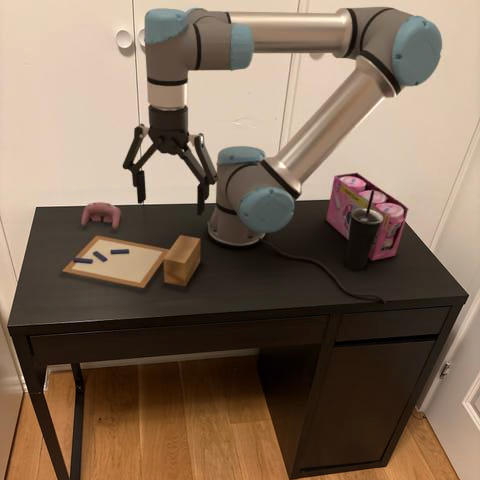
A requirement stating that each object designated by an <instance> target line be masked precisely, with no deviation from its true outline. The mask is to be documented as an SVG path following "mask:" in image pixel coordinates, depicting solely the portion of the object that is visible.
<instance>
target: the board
mask: <svg viewBox="0 0 480 480" xmlns="http://www.w3.org/2000/svg"><path fill="white" fill-rule="evenodd" d="M119 249H129V254H111V253H110V251H111V250H119ZM169 250H170V249H168V248H163V247H158V246H153V245H147V244H142V243H137V242H132V241H127V240H122V239H116V238H112V237H106V236H101V235H95V236H94V237H93V238H92V239H91V240H90V241H89V242H88V244H86V245H85V247H84V248H82V250H80V252H78V253H77V255H75V257H74V258H85V259H93V263H92V264H87V263H76V262H73V259H72V260H71V261H70V262H69V263H68V264H67V265H66V266H65V267H64V268H63V269H62V270H61V271H62V272H64V273H69V274H74V275H79V276H84V277H89V278H93V279H98V280H104V281H108V282H112V283H117V284H123V285H127V286H132V287H137V288H142V289H145V287H146V285H147V284H148V283H149V281H150V280H151V279H152V278H153V276H154V274H155V273H156V272H157V270H158V269H159V268H160V266H161V265H162V263H164V260H163V259H164V257H165V256H166V255H167V253H168V252H169ZM95 251H98V252H99V253H100V254H102V255H103V256H105V257H106V258H107V261H105V262H102V261H101V260H100V259H98V258H97V257H96V256H94V255H93V252H95Z"/></svg>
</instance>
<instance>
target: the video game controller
mask: <svg viewBox="0 0 480 480" xmlns="http://www.w3.org/2000/svg"><path fill="white" fill-rule="evenodd" d="M101 215H105V216H104V217H103V222H104V223H112V227H111V228H112V229H117V228H118V227H119V225H120V220H121V218H120V217H121V215H122V213H121V209H120V208H119V207H118V206H115V205H114V204H111V203H108V202H104V201H101V202H99V201H98V202H97V201H96V202H91V203H88V204H86V206H85V207H84V209H83V212H82V216H81V221H80V222H81V223H80V224H81V226H86V225H87V223H89V222H90V219H91V221H94V222H101V221H102V217H101Z"/></svg>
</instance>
